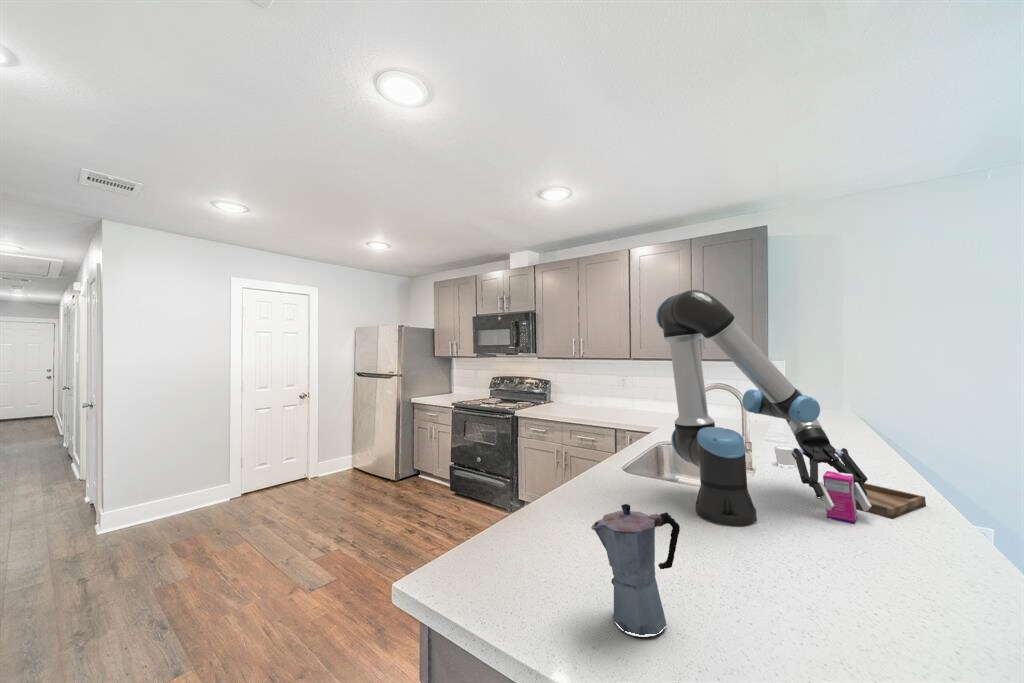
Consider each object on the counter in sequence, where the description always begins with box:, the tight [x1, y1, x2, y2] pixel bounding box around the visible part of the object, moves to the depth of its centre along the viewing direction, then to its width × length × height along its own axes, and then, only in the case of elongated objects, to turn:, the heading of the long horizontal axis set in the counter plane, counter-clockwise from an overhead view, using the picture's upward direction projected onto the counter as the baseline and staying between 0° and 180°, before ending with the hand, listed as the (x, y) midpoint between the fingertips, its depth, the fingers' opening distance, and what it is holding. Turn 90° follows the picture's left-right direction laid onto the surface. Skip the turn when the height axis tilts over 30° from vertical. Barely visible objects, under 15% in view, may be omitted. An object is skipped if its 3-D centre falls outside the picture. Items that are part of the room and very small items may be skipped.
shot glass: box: [774, 445, 796, 466], centre depth 152 cm, size 7×7×7 cm
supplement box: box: [822, 470, 858, 525], centre depth 104 cm, size 6×6×12 cm
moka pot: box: [591, 503, 681, 635], centre depth 68 cm, size 10×15×20 cm, turn 95°
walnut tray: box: [815, 482, 927, 520], centre depth 114 cm, size 18×18×2 cm
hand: (849, 508), depth 101 cm, fingers closed on supplement box, 8 cm apart
